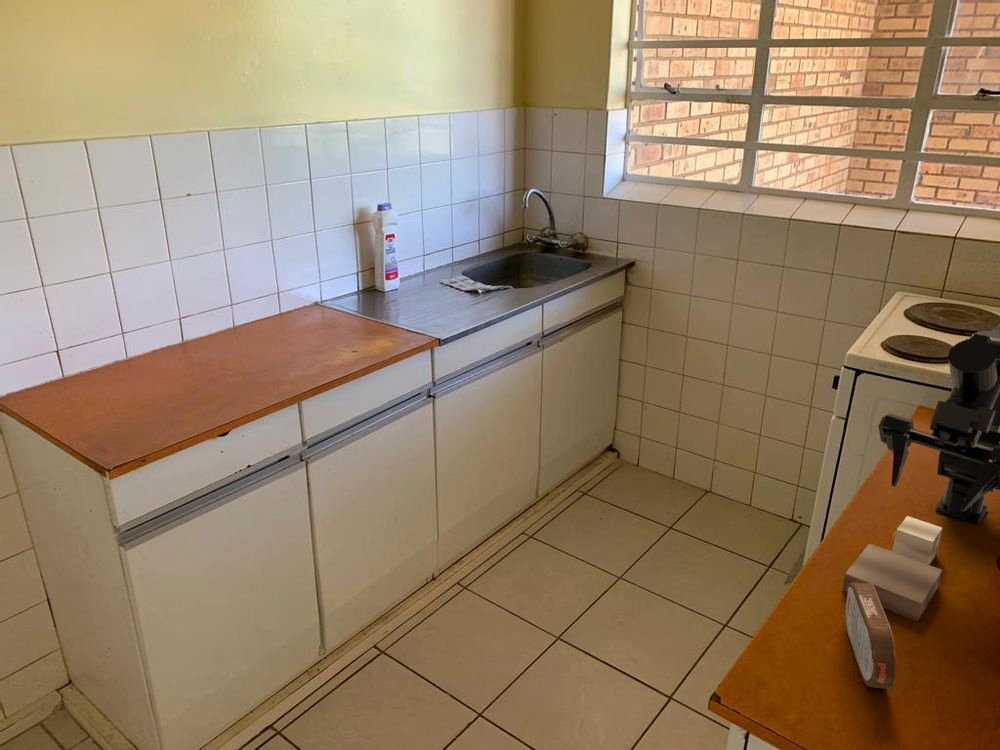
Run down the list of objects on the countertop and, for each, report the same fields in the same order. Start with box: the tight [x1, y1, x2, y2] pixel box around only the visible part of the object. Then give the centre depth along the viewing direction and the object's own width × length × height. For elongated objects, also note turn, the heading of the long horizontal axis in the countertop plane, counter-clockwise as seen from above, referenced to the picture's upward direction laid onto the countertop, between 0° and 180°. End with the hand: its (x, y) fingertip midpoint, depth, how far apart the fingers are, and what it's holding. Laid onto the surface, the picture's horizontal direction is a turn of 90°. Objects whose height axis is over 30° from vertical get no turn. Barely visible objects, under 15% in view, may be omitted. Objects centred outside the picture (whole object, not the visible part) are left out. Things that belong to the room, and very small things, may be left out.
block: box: [891, 515, 943, 566], centre depth 115 cm, size 5×5×5 cm
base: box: [841, 543, 943, 622], centre depth 108 cm, size 10×10×3 cm
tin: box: [844, 583, 898, 690], centre depth 94 cm, size 15×3×8 cm, turn 168°
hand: (926, 497), depth 108 cm, fingers open, 9 cm apart
